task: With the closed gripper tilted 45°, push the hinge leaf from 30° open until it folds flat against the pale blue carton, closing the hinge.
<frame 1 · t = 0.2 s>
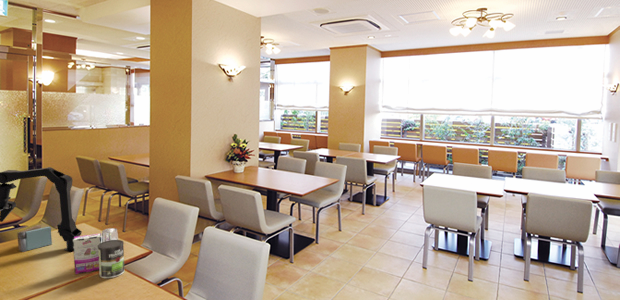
candy bar box: (89, 270, 164), on the table
coffee can: (112, 273, 162), on the table
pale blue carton: (35, 247, 188), on the table
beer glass: (111, 259, 176), on the table
hinge leaf: (36, 238, 186), point 5 cm above the table, hinge at -30.0°
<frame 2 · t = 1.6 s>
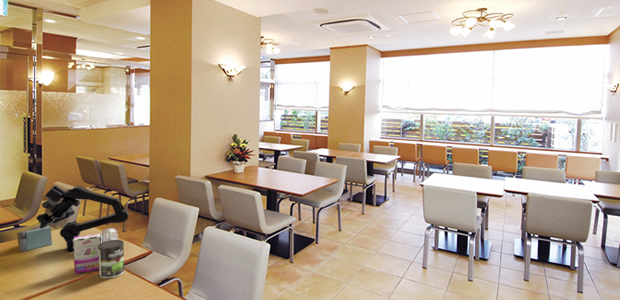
hand: (47, 225, 186), 13 cm above the table, tool tilted 45°, fingers open, 8 cm apart
nothing on the table moved.
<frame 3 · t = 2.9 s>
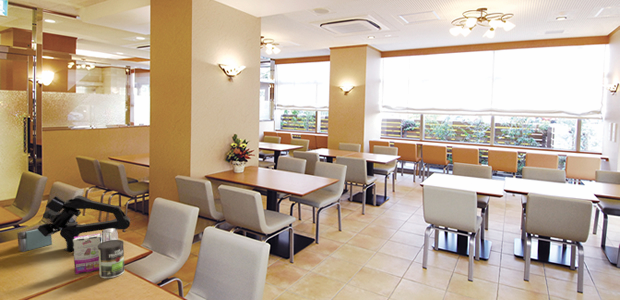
hand: (48, 235, 187), 7 cm above the table, tool tilted 45°, fingers closed
nothing on the table moved.
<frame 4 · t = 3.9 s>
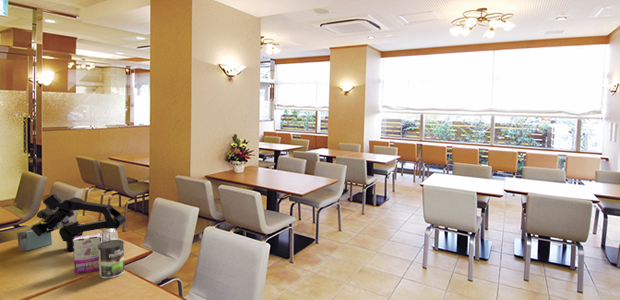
hand: (41, 234, 187), 7 cm above the table, tool tilted 45°, fingers closed
hinge leaf: (36, 238, 186), point 5 cm above the table, hinge at -30.0°, touching gripper
everything else where it was.
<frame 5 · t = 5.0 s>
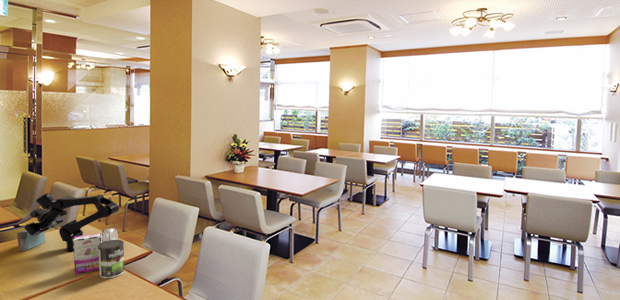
hand: (35, 234, 188), 7 cm above the table, tool tilted 45°, fingers closed on hinge leaf
hinge leaf: (32, 238, 187), point 5 cm above the table, hinge at 1.0°, touching gripper
everything else where it was.
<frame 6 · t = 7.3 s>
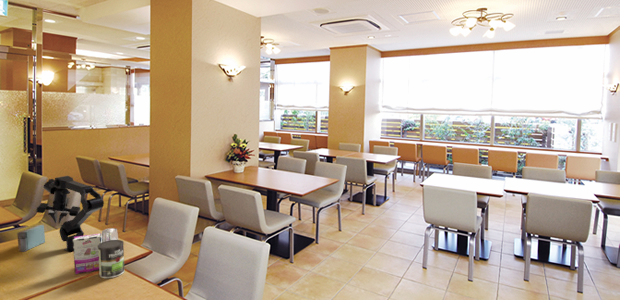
hand: (57, 222, 191), 12 cm above the table, tool tilted 20°, fingers closed
hinge leaf: (32, 238, 187), point 5 cm above the table, hinge at 0.9°
everything else where it was.
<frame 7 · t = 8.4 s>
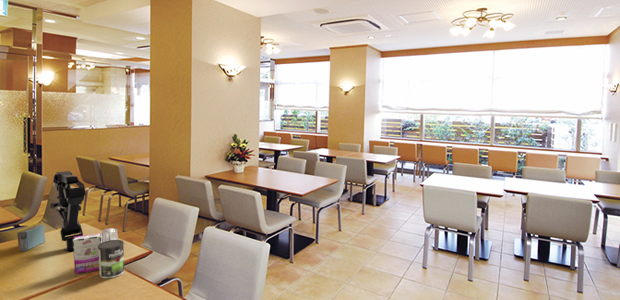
hand: (66, 221, 194), 12 cm above the table, tool pointing down, fingers closed
nothing on the table moved.
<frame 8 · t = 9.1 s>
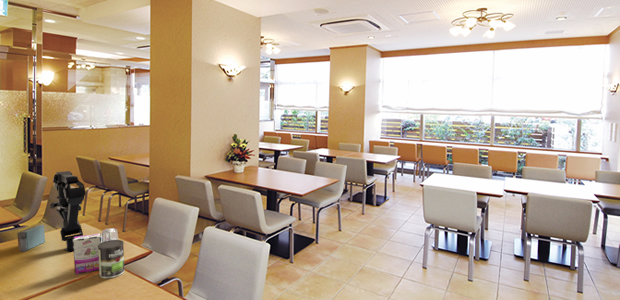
hand: (66, 221, 194), 12 cm above the table, tool pointing down, fingers closed
nothing on the table moved.
at the end: hinge leaf at +1° (first picture: -30°) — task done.
